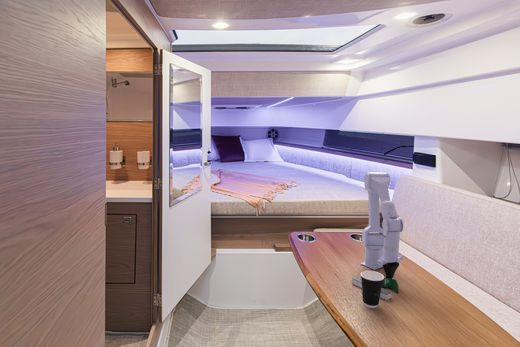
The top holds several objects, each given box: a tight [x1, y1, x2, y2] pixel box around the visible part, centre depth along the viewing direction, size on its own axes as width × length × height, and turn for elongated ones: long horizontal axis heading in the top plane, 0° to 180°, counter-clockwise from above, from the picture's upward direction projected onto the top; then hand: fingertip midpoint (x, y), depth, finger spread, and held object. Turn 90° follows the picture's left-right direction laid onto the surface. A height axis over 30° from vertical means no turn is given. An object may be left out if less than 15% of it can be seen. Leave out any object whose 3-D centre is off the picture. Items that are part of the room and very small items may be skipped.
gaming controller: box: [382, 276, 399, 294], centre depth 126 cm, size 9×4×6 cm
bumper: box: [351, 276, 392, 301], centre depth 123 cm, size 3×16×2 cm, turn 33°
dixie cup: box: [360, 270, 385, 309], centre depth 112 cm, size 8×8×11 cm
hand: (389, 279), depth 130 cm, fingers closed
